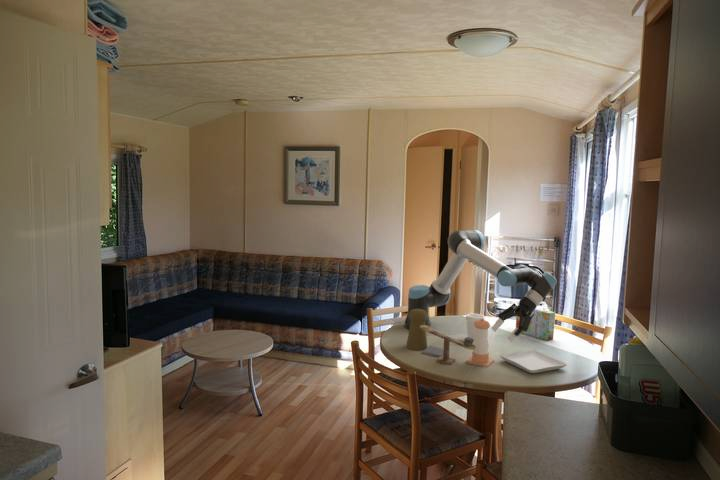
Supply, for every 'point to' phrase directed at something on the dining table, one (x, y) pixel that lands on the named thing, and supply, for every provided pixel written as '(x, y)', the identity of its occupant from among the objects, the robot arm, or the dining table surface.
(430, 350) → the dish slate
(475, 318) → the foam cup
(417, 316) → the pepper shaker
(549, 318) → the snack box
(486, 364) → the orange square coaster
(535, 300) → the robot arm
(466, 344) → the balance
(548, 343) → the dining table surface
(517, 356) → the salad plate
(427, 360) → the dining table surface
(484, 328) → the pepper shaker
